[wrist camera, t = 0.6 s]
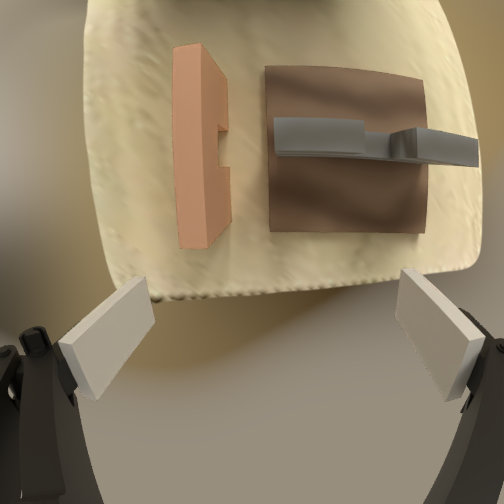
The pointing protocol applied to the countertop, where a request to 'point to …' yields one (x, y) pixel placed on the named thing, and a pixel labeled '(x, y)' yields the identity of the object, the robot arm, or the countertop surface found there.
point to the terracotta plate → (199, 147)
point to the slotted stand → (352, 150)
